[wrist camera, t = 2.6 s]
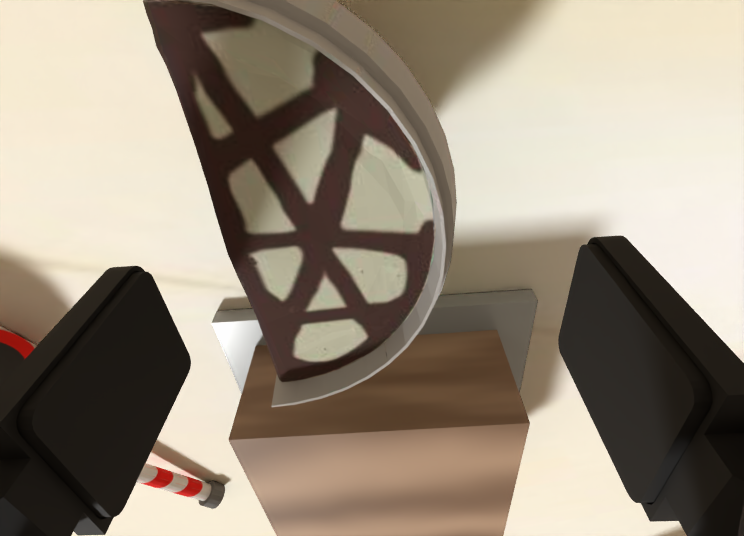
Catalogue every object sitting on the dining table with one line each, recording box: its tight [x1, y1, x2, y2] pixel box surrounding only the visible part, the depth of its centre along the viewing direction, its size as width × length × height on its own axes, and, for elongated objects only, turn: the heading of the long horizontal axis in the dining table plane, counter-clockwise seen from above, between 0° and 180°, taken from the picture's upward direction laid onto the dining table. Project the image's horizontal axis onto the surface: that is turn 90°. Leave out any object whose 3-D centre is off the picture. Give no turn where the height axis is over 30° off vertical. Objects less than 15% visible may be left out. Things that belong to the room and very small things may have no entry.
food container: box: [143, 0, 457, 407], centre depth 14 cm, size 12×6×10 cm, turn 6°
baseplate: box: [212, 289, 538, 394], centre depth 29 cm, size 18×18×1 cm
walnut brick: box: [229, 330, 530, 536], centre depth 26 cm, size 14×14×6 cm
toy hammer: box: [0, 326, 225, 509], centre depth 29 cm, size 23×12×6 cm, turn 40°
